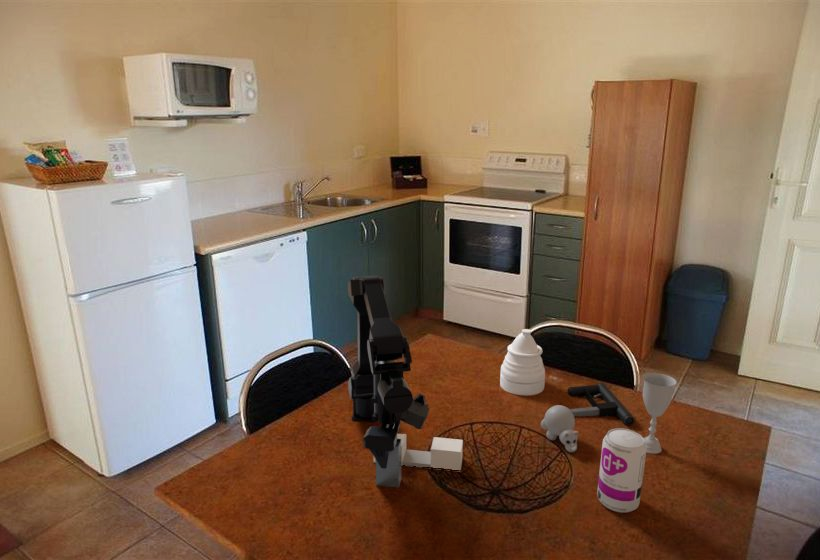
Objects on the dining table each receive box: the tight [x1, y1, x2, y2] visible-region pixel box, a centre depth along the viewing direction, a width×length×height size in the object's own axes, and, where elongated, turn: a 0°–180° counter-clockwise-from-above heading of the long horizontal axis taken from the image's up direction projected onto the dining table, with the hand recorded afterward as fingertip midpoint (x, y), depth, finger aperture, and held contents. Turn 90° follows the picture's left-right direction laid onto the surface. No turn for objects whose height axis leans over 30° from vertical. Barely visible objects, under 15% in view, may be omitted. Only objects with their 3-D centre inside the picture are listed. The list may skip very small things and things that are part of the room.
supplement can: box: [596, 427, 647, 513], centre depth 116 cm, size 8×8×15 cm
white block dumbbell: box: [372, 433, 464, 471], centre depth 131 cm, size 20×5×5 cm, turn 80°
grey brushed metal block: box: [375, 439, 402, 489], centre depth 123 cm, size 5×3×10 cm, turn 80°
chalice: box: [641, 372, 678, 455], centre depth 135 cm, size 7×7×18 cm
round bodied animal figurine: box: [540, 404, 580, 453], centre depth 138 cm, size 7×12×8 cm, turn 13°
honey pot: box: [499, 328, 546, 396], centre depth 166 cm, size 13×13×18 cm
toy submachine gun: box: [567, 382, 635, 426], centre depth 155 cm, size 3×20×16 cm
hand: (388, 455), depth 123 cm, fingers open, 9 cm apart
